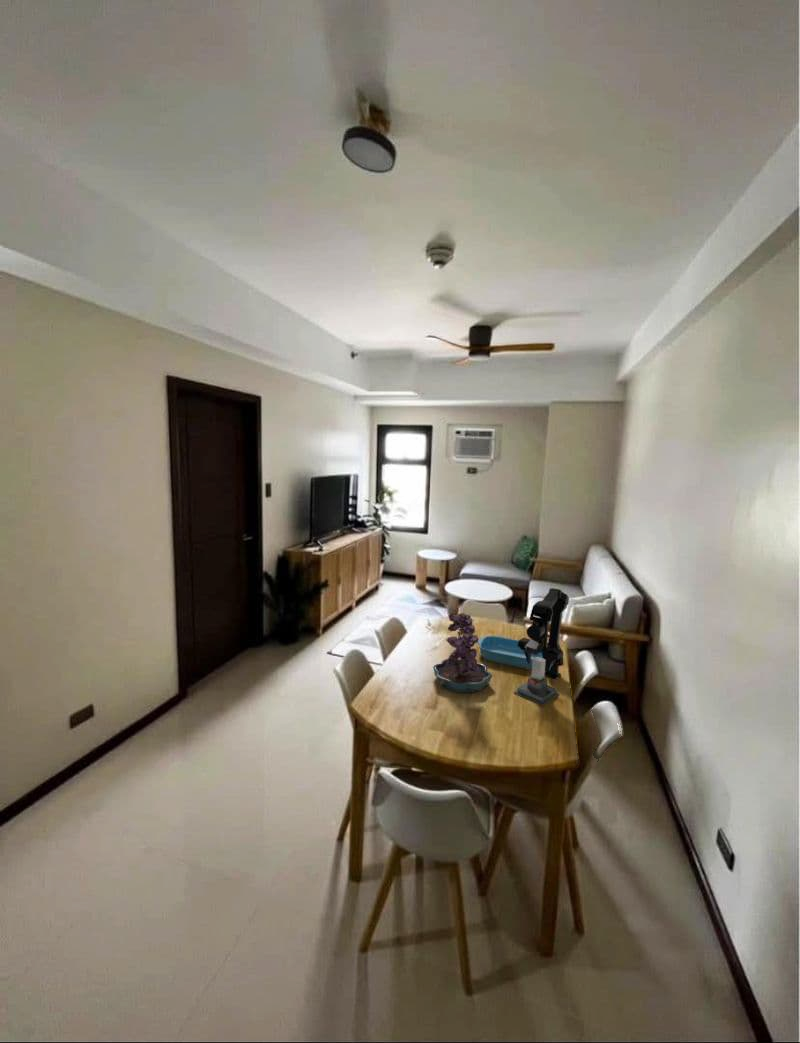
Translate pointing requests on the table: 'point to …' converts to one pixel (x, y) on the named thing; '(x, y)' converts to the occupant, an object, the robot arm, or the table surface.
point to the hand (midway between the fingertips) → (538, 667)
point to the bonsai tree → (462, 659)
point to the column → (538, 669)
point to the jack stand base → (537, 691)
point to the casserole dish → (504, 651)
